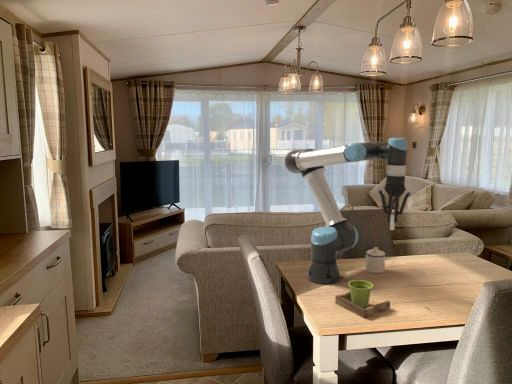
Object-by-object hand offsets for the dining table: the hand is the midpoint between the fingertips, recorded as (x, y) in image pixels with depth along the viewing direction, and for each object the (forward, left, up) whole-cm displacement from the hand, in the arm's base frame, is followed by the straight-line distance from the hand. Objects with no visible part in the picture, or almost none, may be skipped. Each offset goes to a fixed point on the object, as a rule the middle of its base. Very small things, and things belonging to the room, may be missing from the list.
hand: (392, 229), depth 171 cm
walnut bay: (-6, -25, -26) cm, 36 cm away
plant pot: (-7, -25, -26) cm, 37 cm away
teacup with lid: (-11, +18, -26) cm, 34 cm away
